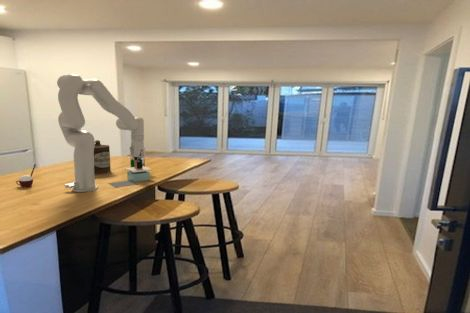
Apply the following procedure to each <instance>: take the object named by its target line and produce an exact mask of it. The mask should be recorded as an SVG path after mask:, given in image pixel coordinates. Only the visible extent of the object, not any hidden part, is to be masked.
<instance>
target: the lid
mask: <svg viewBox="0 0 470 313" xmlns="http://www.w3.org/2000/svg"><path fill="white" fill-rule="evenodd" d="M137 162H138V160H137V159H136V160H134V167H131V166H130V167H125V168H124V170H125V171H127V172H128V171H130V172H133V173H134V172H142V171H147V172H150V171H153V169H152V168H150V167H147V166H146V165H145V166H142V168H137Z"/></svg>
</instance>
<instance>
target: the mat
mask: <svg viewBox="0 0 470 313" xmlns="http://www.w3.org/2000/svg"><path fill="white" fill-rule="evenodd" d="M107 184H108V185H110V186H112V187H114V188H115V189H117V188H124V187H131V186H137V185H139V184H138V183H137V182H133V181H131V180H129V179H127V180H122V181H114V182H108V183H107Z"/></svg>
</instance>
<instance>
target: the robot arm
mask: <svg viewBox="0 0 470 313" xmlns="http://www.w3.org/2000/svg"><path fill="white" fill-rule="evenodd" d="M56 84H57V85H56V86H57V87H58V88H59V90H58V93H57V100H58V104H59V107H60V110H61V112H60V113H59V115H58V119H57V121H58V125H59V127H60V131H61V133H62V135H63V137H64V139H65V142H66V143H67V145H69V146H70V147H73V148H74V150H73V166H74V167H73V170H74V180H73V182H71V183H65V184H64V188H65V189H68V188H69V189H71V191H72V192H76V193H86V192H87V193H88V192H93V191H96V190H98V189H99V185H98V184H96V180H95V179H96V178H95V177H96V176H95V175H96V174H95V173H94V144H95V141H96V140H95V137H94V135H93V134H92V133H91V132H90V131H87V130H84V129H83V130H82V128H83V127H85V125H86V120H85V116H84V114H83V111H82V109H81V106H80V102H79V99H78V97H79V95H82V96H83V95H84V96H91V97H92V98H93V99H94V100H95V101H96V102H97V103H98V105H99V106H100V107H101V108H102V109H103V111H106V112H107V113H109V114H112V115H113V116H115V117H116V118H118V119H116V121H115V125H116V127H117V128H118V129H119V130H121V131H122V130H123V131H129V132H130V140H131V141H130V147H131V155H132V156H133V157H134V160H136V159H137V160H138V162H137V168H142V162H143V158H144V147H145V144H144V142H145V128H144V126H145V122H144V121H145V120H144V118H143V117H136V116H134V114H133V113H132V112H131V111H130V110H129V109H128V108H127V107H125V106H124V105H123V104H122V103H120V102H119V101H118V100H117V99H116V98H115V97H114V95H113V94H112V93H111V92H110V91H109V90H108V88H107V87H106V86H105V85H104V83H103V81H101V80H99V79H97V78H91V79H90V78H89V79H85V78H82V77H81V75H79V74H76V73H75V74H74V73H71V74H64V75H60V76H59V77H58V79H57V81H56ZM139 156H141V157H139Z"/></svg>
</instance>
